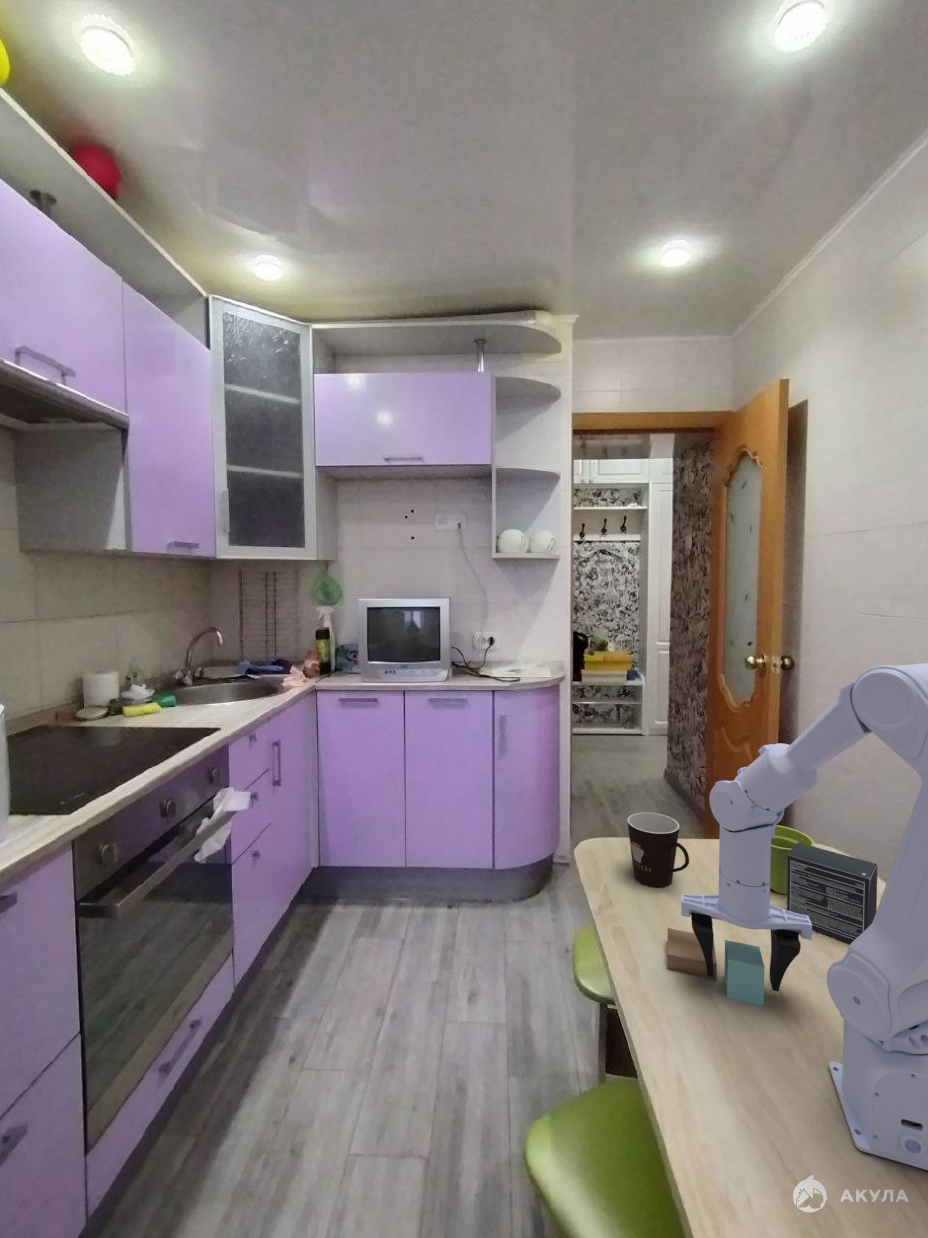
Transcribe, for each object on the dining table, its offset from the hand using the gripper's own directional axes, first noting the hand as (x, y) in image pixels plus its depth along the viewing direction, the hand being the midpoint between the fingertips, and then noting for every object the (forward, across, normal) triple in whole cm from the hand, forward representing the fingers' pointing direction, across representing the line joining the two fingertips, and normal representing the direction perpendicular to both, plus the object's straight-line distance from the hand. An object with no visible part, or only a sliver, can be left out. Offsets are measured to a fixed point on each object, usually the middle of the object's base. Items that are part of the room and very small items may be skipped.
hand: (741, 978), depth 69 cm
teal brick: (+2, 0, 0) cm, 2 cm away
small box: (+2, -14, -19) cm, 24 cm away
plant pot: (+2, -9, -29) cm, 31 cm away
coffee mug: (+2, +11, -23) cm, 25 cm away
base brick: (+2, +6, -4) cm, 7 cm away
